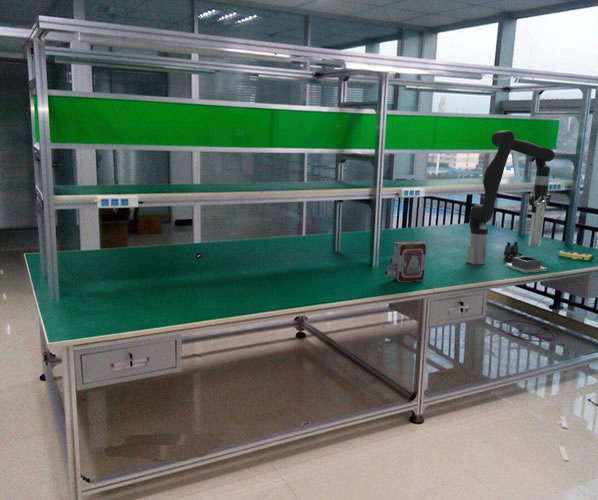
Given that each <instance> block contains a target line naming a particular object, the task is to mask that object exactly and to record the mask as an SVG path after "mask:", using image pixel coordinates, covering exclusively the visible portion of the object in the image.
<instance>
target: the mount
mask: <svg viewBox="0 0 598 500" xmlns="http://www.w3.org/2000/svg"><path fill="white" fill-rule="evenodd" d="M504 266H505V267H506V268H510V269H511V270H514V271H519V272H521V273H523V274H524V273H525V274H527V273H538V272H546V271H548V268H547V267H545V266H542V260H541V259H539V258H534V257H532V256H528V255H522V257H512V261H511V262H510V263H509V262H508V263H505V265H504Z"/></svg>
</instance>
